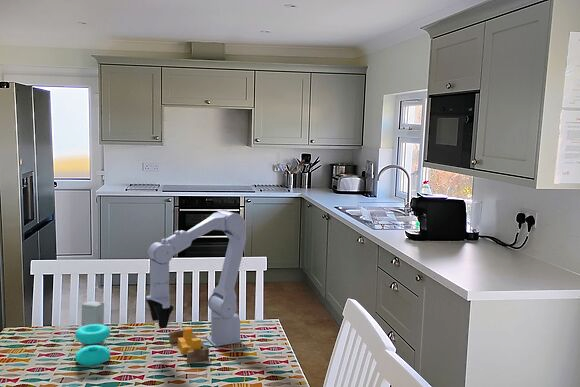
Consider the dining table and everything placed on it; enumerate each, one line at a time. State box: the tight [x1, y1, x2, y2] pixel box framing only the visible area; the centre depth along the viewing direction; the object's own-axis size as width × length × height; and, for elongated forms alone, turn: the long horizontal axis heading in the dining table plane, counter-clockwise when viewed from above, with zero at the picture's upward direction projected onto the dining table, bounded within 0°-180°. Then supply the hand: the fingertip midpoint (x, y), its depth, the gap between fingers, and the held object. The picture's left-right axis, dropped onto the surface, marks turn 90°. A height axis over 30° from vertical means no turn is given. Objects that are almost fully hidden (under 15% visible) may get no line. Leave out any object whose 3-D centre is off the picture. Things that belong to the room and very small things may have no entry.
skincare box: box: [80, 300, 105, 327], centre depth 183 cm, size 6×4×12 cm
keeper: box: [168, 329, 210, 364], centre depth 176 cm, size 7×19×4 cm, turn 29°
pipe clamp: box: [177, 326, 202, 356], centre depth 174 cm, size 12×4×6 cm, turn 25°
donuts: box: [74, 324, 111, 367], centre depth 166 cm, size 10×10×10 cm
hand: (159, 324), depth 171 cm, fingers open, 7 cm apart
